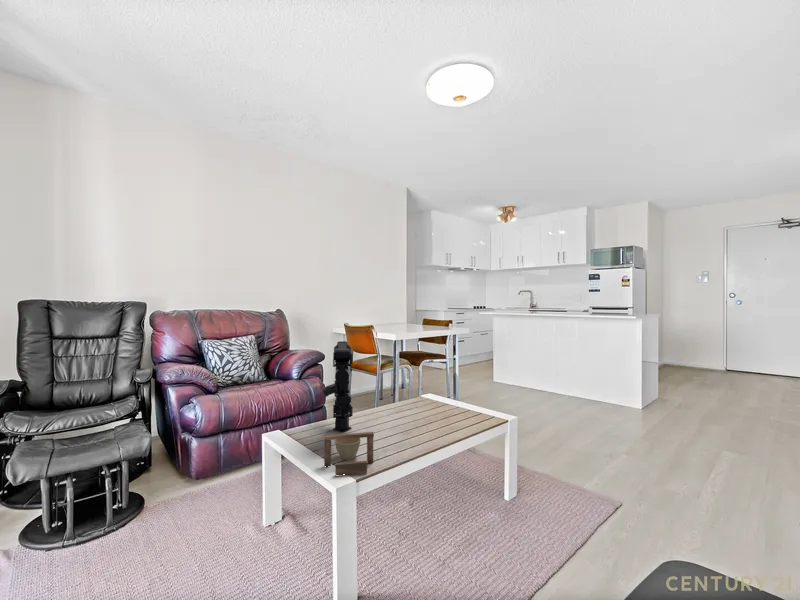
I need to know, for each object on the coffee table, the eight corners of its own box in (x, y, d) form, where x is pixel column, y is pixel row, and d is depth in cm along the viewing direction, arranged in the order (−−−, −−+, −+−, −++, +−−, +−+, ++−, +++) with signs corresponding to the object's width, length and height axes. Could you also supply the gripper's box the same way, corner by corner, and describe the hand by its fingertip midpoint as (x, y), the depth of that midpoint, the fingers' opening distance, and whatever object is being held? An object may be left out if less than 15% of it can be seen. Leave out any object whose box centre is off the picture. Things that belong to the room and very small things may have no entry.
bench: (324, 464, 145) (324, 435, 145) (372, 460, 149) (372, 431, 149) (324, 477, 135) (324, 445, 135) (377, 472, 139) (377, 441, 139)
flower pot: (348, 450, 159) (348, 433, 159) (365, 457, 152) (365, 438, 152) (329, 458, 151) (329, 440, 151) (347, 465, 145) (347, 446, 145)
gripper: (322, 374, 176) (322, 409, 176) (323, 383, 158) (323, 422, 158) (347, 373, 178) (347, 407, 178) (351, 382, 160) (351, 420, 160)
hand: (342, 414), depth 169 cm, fingers open, 8 cm apart
